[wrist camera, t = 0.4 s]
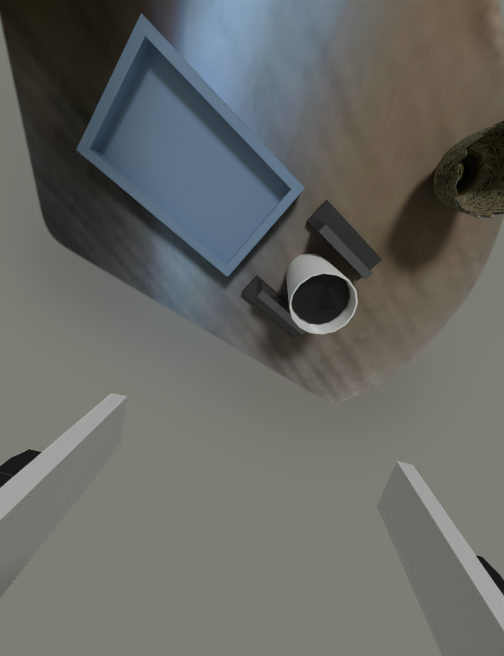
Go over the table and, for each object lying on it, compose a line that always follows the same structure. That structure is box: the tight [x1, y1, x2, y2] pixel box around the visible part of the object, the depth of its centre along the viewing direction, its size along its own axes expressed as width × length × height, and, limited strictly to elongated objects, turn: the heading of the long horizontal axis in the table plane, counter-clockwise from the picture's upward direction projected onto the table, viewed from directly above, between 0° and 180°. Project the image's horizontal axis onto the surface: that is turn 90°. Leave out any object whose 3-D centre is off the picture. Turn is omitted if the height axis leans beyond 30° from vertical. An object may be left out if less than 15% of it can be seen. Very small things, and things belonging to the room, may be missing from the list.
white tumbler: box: [286, 253, 358, 334], centre depth 31 cm, size 7×7×10 cm
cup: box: [433, 121, 504, 218], centre depth 26 cm, size 8×7×8 cm
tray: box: [76, 13, 305, 277], centre depth 29 cm, size 13×20×2 cm, turn 49°
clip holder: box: [242, 200, 382, 337], centre depth 34 cm, size 15×10×4 cm, turn 139°
